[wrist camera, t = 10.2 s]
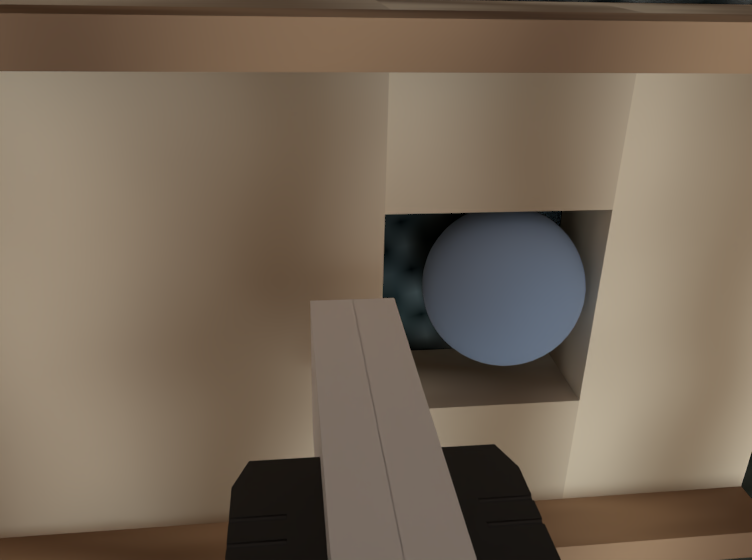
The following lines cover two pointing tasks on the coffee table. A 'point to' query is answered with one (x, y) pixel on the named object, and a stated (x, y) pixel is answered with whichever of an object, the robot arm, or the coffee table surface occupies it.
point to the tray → (366, 253)
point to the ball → (503, 286)
